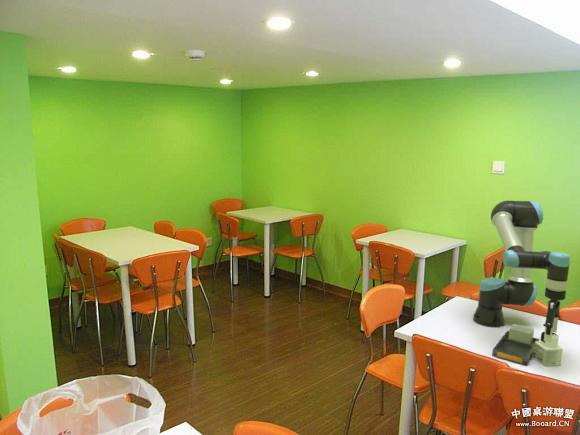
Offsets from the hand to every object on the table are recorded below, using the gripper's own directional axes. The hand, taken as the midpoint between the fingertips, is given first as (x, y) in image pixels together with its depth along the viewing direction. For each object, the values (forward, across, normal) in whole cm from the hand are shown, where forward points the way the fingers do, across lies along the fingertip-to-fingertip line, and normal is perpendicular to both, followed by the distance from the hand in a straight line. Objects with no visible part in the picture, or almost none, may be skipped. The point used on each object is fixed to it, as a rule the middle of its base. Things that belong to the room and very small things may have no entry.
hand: (550, 336), depth 193 cm
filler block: (+10, +11, +13) cm, 20 cm away
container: (+12, 0, 0) cm, 12 cm away
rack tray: (+12, +4, +13) cm, 18 cm away
